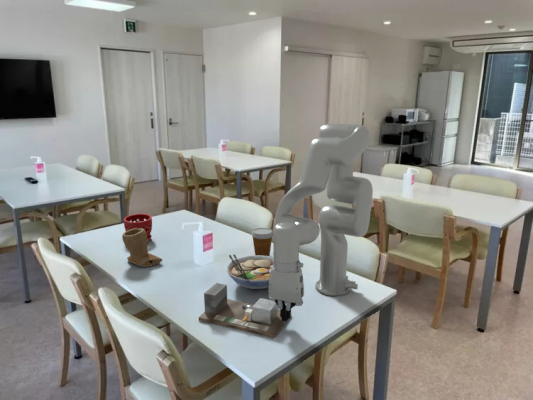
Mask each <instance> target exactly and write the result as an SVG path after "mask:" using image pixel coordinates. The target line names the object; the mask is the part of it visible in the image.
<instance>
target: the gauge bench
mask: <svg viewBox="0 0 533 400" xmlns="http://www.w3.org/2000/svg"><path fill="white" fill-rule="evenodd" d="M203 300H204V301H203V302H204V303H203V304H204V312H203V313H201V315H199V316H198V322H204V323H206V324H212V325H215V326H219V327H224V328H229V329H232V330H237V331H242V332H245V333H250V334H255V335H258V336H263V337H266V338H270V339H276V337H277V336H278V334H279V333H280V331H281V330H282V329H283V327H284V326H285V324H286V323H287V322H285V321H281V317H280V309H279V308H277V317H276V318H275V320H274V321H273V322H272V324H271V325H267V324H262V323H258V322H253V321H252V320H251V321H247V320H246V321H245V322H243V321H242V320H243V319H244V318H245V311H246V310H244V309H242V307H243V304H245V305H250V306H253V305H254V304H255V303H254V304H253V303H249V302H244V301H243V302H242V301H239V300H234V299H229V298H228V284H224V283H218V282H216V283H215V284H213V285H212V286H210V288H209V289H207V290H206V291H205V292H204V293H203Z"/></svg>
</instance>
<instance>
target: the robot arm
mask: <svg viewBox="0 0 533 400" xmlns="http://www.w3.org/2000/svg"><path fill="white" fill-rule="evenodd" d="M370 133H371V132H370V130H369V128H368V127H367V126H365V125H363V124H351V123H350V124H349V123H348V124H347V123H326V124H323V125H322V126H320V128H319V130H318V137H317V138H314V139H313V140H311V141H310V143H309V145H308V150H307V153H306V157H305V160H304V162H303V167H302V170H301V174H300V177H299V181H298V182H297V184H295V185H293V187H291V188H290V189H289V190H288V191H287V192H286V193H285V195H284V196H283V197H282V198H281V199H280V201H279V203H278V206H277V209H276V212H275V216H274V219H273V220H274V221H273V230H272V232H273V236H272V240H273V244H272V246H273V253H272V255H273V256H272V257H273V266H272V268H271V273H270V279H269V287H268V300H271V301H274V302H275V303H276V304H277V307H278V310H280V317H281V321H285V322H286V323H287V322H288V321H289V320H290V319H291V317H292V309H293V308H294V307H302V306H303V304H304V300H303V297H304V295H305V288H304V287H305V286H304V284H305V283H304V276H303V275H304V274H303V270H302V268H304V263H303V262H301V261H300V246H304V245H308V244H312V243H313V242H315V241H316V240H317V239H318V237H319V235H320V261H319V263H320V264H319V280H317V281H316V282H315V285H314V286H315V289H316V291H317V292H319V293H321V294H322V295H325V296H332V297H338V296H339V297H340V296H343V295H344V296H345V295H346V294H347V293H349V291H350V290H351V289H353V290H358V287H359V284H358V283H356V281H355V280H354V281H353V280H350V279H349V276H348V275H347V266H348V263H347V262H348V250H349V249H348V245H349V244H348V240H347V238H346V236H349V237H355V238H362V237H364V236H365V235H366V234H367V232H368V230H369V226H370V219H371V212H372V211H371V210H372V205H373V204H372V203H373V194H374V193H373V192H374V190H373V184H372V182H371V180H369V179H368V178H366V177H360V176H354V166H355V165H354V164H355V161H356V160H357V159H359V157H360V156H361V155H362V154H363V153H364V152H365V151H366V149H367V148H368V146H369V143H370V139H371V134H370ZM325 190H326V192H325V193H326V197H327V198H328V199H329V200H330V201H332V202H338V203H343V204H350V205H352V206H354V207H348V206H344V205H343V206H342V205H337V204H328V205H325V206H323V207H322V208H321V209H320V211H319V214H318V222H317V221H316V220H314V219H311V218H307V217H301V216H297V215H292V211H293V210H294V207H295V206H296V204H298V203H299V202H300V201H301V200H304V199H305V198H308V197H310V196H311V197H312V196H313V195H316V194H320V193H323V192H324V191H325ZM318 223H319V224H318Z"/></svg>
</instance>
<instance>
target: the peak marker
mask: <svg viewBox="0 0 533 400" xmlns="http://www.w3.org/2000/svg"><path fill="white" fill-rule="evenodd" d="M246 320H247V321H251V320H252V309H248V308H247V309H246V311H245V318H244V319H243V320H242V321H243V322H245V321H246Z"/></svg>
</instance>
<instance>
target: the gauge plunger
mask: <svg viewBox="0 0 533 400" xmlns="http://www.w3.org/2000/svg"><path fill="white" fill-rule="evenodd" d="M247 308H248V309H252V321H253V322H258V323H262V324H267V325H271V324H272V322H273V321H274V320H275V318H276V317H277V309H278V305H277V304H276V303H275V302H274V301H271V300H269V299H265V298H263V297H262V298H261V297H260V298H258V300H257V301H256V302H255V303H254V305H253V306H250V305H245V304H243V307H242V309H244V310H246V309H247Z"/></svg>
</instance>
